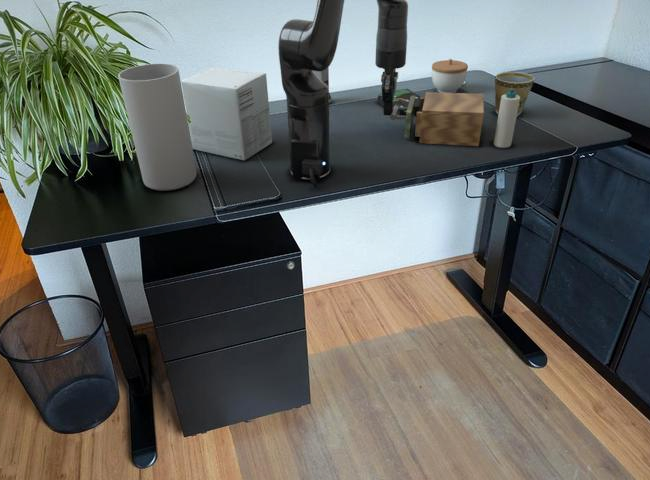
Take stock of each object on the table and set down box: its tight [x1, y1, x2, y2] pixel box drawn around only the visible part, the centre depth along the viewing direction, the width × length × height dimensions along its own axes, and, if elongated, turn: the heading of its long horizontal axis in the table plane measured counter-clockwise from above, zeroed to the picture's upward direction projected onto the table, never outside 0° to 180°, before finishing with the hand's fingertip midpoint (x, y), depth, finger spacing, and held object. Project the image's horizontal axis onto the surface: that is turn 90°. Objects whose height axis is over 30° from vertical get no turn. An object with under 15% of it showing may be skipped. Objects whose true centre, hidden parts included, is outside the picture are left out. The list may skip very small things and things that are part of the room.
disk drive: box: [377, 88, 423, 116], centre depth 160 cm, size 10×3×15 cm
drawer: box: [390, 96, 425, 139], centre depth 142 cm, size 18×13×7 cm
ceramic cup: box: [494, 71, 535, 117], centre depth 151 cm, size 13×10×10 cm
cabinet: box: [418, 91, 485, 147], centre depth 141 cm, size 15×14×9 cm
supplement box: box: [180, 67, 273, 161], centre depth 138 cm, size 17×13×18 cm
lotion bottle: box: [493, 89, 520, 149], centre depth 132 cm, size 4×4×14 cm
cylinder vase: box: [117, 63, 197, 192], centre depth 122 cm, size 12×12×25 cm
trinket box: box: [431, 58, 469, 93], centre depth 169 cm, size 11×11×9 cm
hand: (387, 114), depth 145 cm, fingers closed
